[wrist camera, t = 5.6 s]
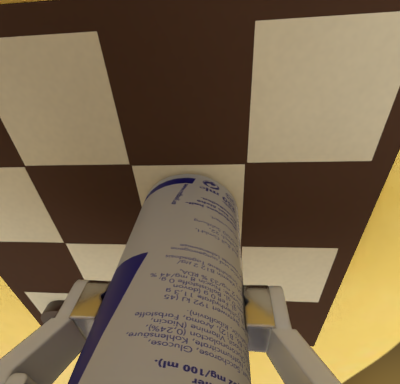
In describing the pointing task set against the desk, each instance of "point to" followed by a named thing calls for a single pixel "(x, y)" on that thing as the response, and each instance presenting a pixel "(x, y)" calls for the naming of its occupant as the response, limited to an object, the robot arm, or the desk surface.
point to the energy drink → (174, 294)
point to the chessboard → (195, 133)
